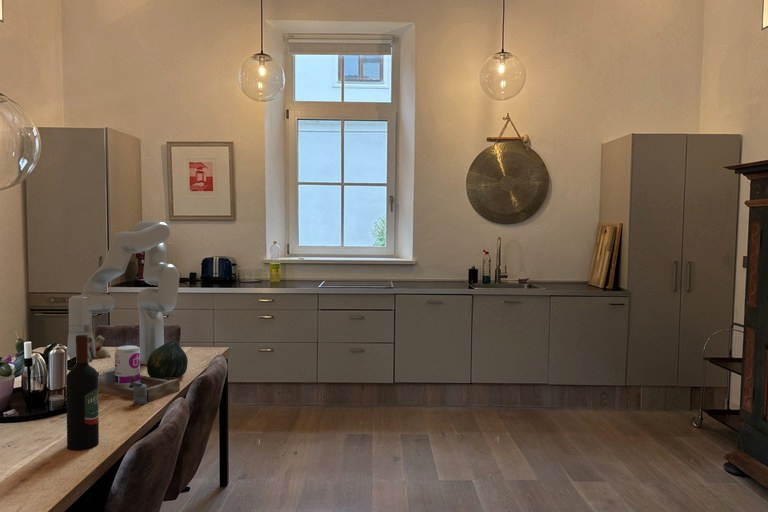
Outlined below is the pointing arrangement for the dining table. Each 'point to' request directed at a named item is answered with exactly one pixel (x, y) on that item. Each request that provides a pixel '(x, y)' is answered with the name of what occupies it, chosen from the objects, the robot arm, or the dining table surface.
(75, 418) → the wine bottle
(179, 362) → the squash
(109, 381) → the follower
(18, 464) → the dining table surface
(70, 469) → the dining table surface
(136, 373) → the supplement can
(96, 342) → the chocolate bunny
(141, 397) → the bay
